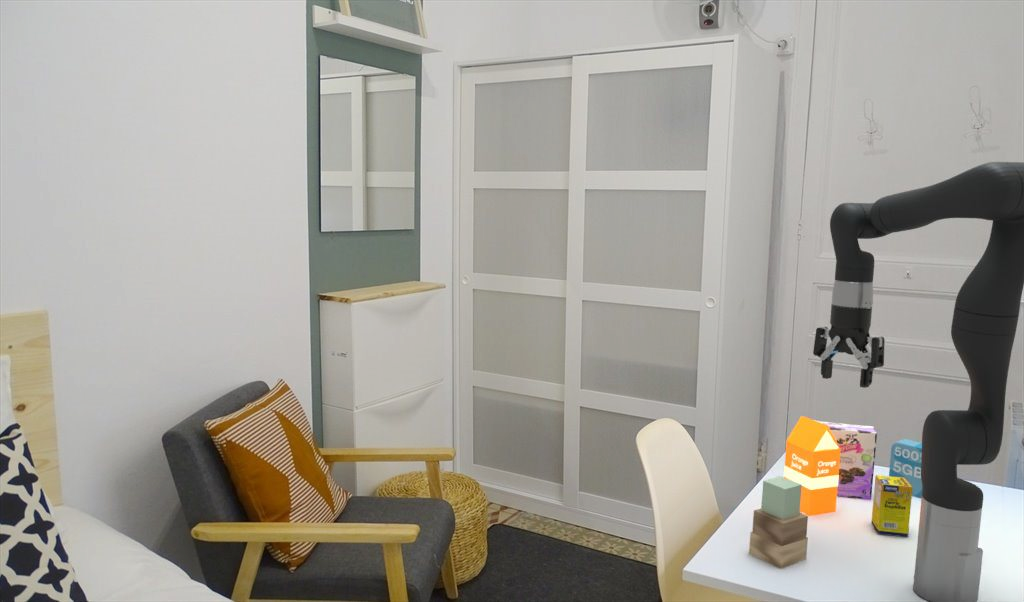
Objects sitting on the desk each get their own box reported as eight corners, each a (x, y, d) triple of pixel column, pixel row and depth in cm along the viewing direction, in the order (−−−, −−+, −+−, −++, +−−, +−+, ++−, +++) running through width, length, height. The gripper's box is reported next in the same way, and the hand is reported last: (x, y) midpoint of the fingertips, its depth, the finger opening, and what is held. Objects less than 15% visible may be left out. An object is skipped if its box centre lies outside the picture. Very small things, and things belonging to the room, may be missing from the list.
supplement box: (908, 537, 163) (913, 486, 161) (877, 534, 164) (882, 484, 162) (900, 526, 168) (905, 477, 167) (870, 523, 170) (875, 474, 168)
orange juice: (808, 497, 183) (814, 414, 181) (836, 511, 175) (843, 424, 173) (781, 501, 181) (787, 416, 178) (808, 516, 172) (815, 427, 170)
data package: (887, 488, 191) (891, 440, 189) (895, 484, 194) (900, 437, 192) (939, 504, 182) (944, 453, 180) (947, 499, 184) (952, 450, 183)
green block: (799, 514, 151) (801, 484, 150) (782, 519, 148) (785, 489, 147) (777, 505, 155) (779, 476, 154) (761, 510, 152) (763, 480, 151)
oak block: (806, 560, 152) (807, 537, 151) (781, 569, 147) (782, 546, 147) (773, 545, 158) (775, 524, 157) (748, 554, 153) (750, 532, 153)
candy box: (808, 493, 186) (813, 425, 184) (806, 484, 192) (811, 419, 190) (871, 500, 182) (877, 432, 180) (868, 492, 188) (874, 425, 186)
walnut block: (806, 538, 151) (807, 516, 150) (781, 546, 147) (783, 523, 146) (776, 525, 156) (778, 503, 156) (752, 532, 153) (753, 510, 152)
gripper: (809, 300, 161) (803, 377, 163) (873, 309, 149) (866, 392, 152) (832, 298, 165) (826, 373, 167) (896, 306, 154) (889, 388, 156)
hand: (845, 382), depth 159 cm, fingers open, 8 cm apart
